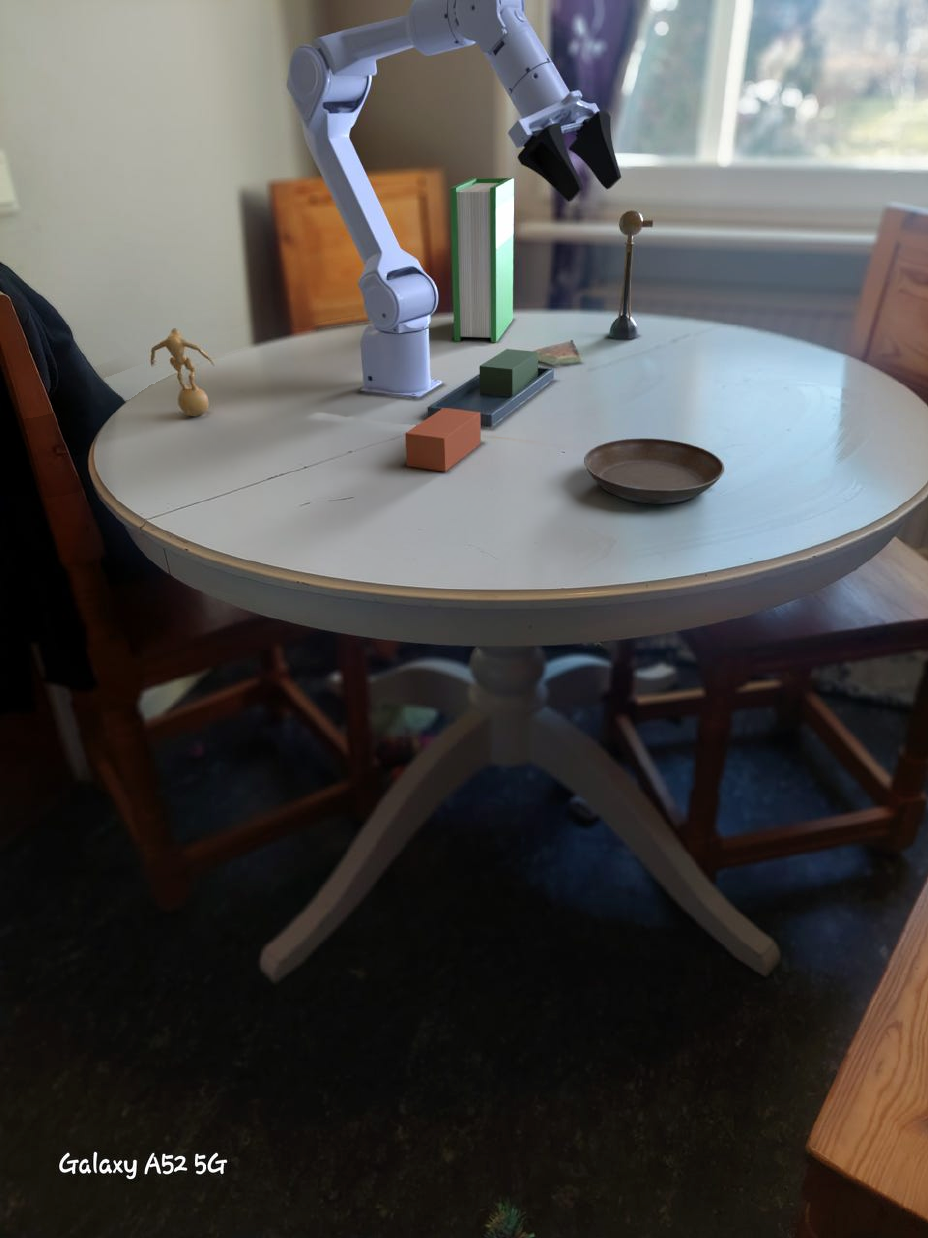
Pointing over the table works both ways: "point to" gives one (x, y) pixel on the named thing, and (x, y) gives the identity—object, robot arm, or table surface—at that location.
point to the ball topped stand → (628, 276)
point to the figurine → (192, 396)
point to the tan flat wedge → (559, 353)
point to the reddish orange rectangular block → (443, 439)
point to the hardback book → (482, 256)
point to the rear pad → (508, 372)
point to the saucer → (653, 469)
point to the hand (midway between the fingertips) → (595, 189)
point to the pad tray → (489, 398)
